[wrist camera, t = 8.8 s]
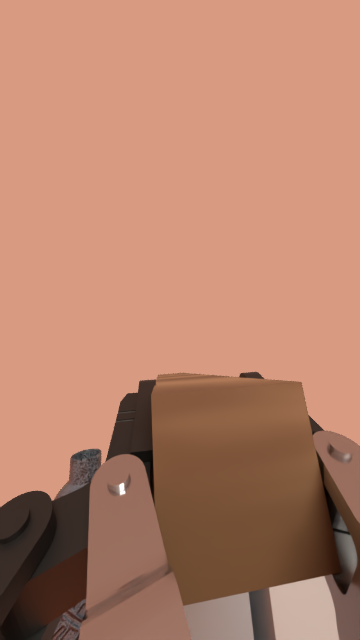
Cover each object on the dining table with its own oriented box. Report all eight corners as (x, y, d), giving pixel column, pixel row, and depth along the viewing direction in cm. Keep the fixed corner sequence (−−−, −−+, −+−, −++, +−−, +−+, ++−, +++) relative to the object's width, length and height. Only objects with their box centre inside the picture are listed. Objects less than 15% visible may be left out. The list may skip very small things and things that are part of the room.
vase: (61, 776, 22) (76, 477, 28) (8, 698, 27) (31, 463, 34) (136, 641, 32) (134, 445, 39) (87, 604, 38) (92, 439, 44)
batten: (159, 401, 31) (158, 374, 32) (184, 399, 31) (182, 373, 32) (158, 611, 4) (151, 395, 5) (341, 572, 4) (301, 382, 5)
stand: (139, 651, 31) (136, 415, 39) (283, 617, 34) (252, 404, 42) (108, 1124, 11) (115, 459, 20) (451, 951, 14) (333, 433, 22)
